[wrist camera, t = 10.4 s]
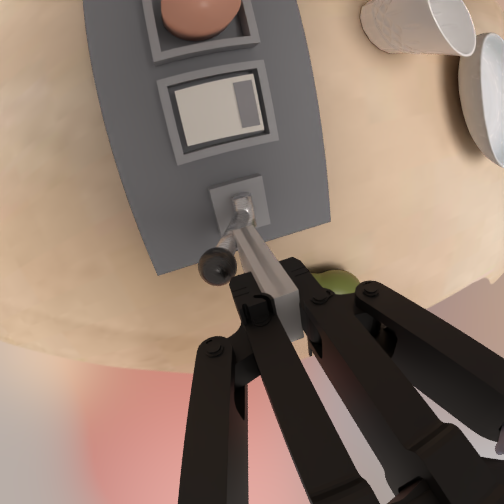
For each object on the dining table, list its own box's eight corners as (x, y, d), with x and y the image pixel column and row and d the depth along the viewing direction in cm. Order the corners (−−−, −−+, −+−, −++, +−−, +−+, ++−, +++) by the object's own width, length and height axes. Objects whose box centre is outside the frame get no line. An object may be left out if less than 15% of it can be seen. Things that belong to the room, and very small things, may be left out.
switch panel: (259, -66, 12) (275, -88, 8) (315, 210, 27) (339, 228, 23) (88, -38, 9) (77, -60, 5) (158, 258, 25) (157, 286, 21)
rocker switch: (252, 75, 16) (253, 73, 15) (262, 128, 18) (264, 129, 17) (176, 91, 16) (174, 91, 15) (189, 144, 18) (187, 146, 17)
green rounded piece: (358, 327, 30) (276, 326, 28) (341, 301, 34) (267, 296, 32) (377, 287, 27) (290, 280, 25) (356, 263, 32) (278, 254, 30)
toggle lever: (256, 191, 20) (225, 256, 13) (262, 220, 21) (236, 296, 14) (230, 194, 20) (186, 259, 13) (237, 223, 21) (200, 297, 14)
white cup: (355, 47, 20) (432, 35, 12) (352, -13, 16) (419, -37, 8) (408, 66, 22) (479, 68, 14) (405, 11, 18) (470, 3, 10)
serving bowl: (495, 157, 33) (523, 169, 27) (439, 154, 29) (479, 168, 23) (493, 54, 23) (522, 58, 17) (430, 13, 19) (470, 9, 13)
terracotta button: (225, -17, 12) (233, -32, 10) (237, 35, 15) (247, 24, 13) (157, -6, 12) (156, -21, 9) (167, 47, 14) (167, 38, 12)
